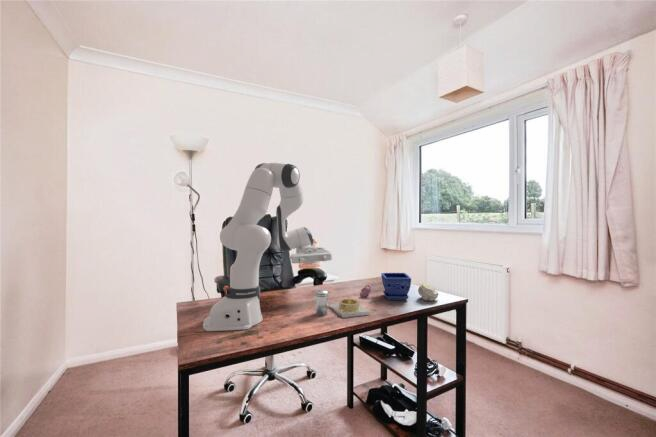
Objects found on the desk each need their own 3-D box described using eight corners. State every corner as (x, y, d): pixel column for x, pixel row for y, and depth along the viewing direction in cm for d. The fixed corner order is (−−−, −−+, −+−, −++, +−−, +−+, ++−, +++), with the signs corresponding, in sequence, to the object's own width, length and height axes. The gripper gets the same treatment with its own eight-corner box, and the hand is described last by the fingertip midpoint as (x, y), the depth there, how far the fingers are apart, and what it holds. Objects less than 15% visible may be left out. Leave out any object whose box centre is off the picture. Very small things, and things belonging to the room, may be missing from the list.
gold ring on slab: (342, 318, 118) (342, 308, 118) (329, 307, 133) (329, 298, 132) (370, 314, 123) (370, 305, 123) (355, 304, 137) (355, 295, 137)
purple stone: (366, 300, 148) (373, 289, 147) (358, 296, 148) (365, 284, 148) (367, 295, 157) (373, 284, 156) (360, 291, 158) (366, 280, 157)
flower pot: (384, 301, 142) (384, 277, 141) (380, 294, 155) (380, 272, 155) (411, 301, 141) (411, 278, 141) (405, 294, 154) (405, 272, 154)
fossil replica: (433, 296, 151) (414, 298, 151) (431, 280, 152) (413, 282, 151) (443, 301, 139) (423, 303, 139) (441, 284, 140) (422, 286, 139)
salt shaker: (317, 316, 120) (318, 293, 120) (314, 312, 125) (314, 290, 125) (329, 315, 122) (329, 292, 122) (325, 311, 127) (325, 289, 126)
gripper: (288, 250, 144) (292, 255, 131) (326, 247, 150) (335, 252, 137) (288, 262, 144) (293, 269, 131) (327, 259, 150) (335, 265, 137)
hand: (315, 260), depth 134 cm, fingers open, 8 cm apart
